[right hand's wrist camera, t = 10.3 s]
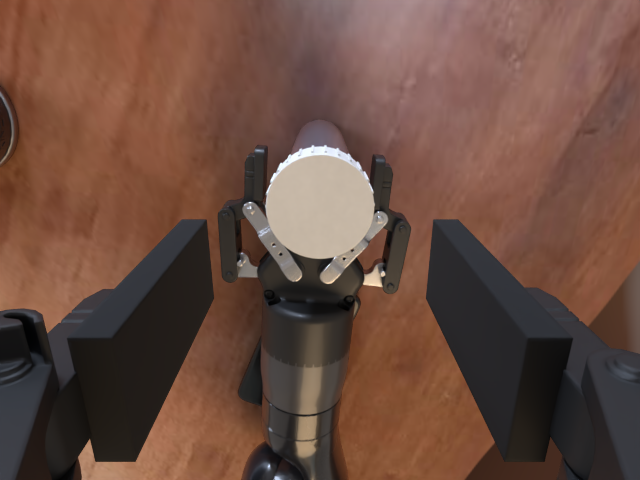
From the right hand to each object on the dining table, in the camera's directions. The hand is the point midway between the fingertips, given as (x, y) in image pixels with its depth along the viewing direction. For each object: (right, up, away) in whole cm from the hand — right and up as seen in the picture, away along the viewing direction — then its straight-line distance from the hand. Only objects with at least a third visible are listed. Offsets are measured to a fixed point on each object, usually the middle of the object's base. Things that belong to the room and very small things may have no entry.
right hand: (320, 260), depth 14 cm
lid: (0, +2, +6) cm, 6 cm away
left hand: (0, +7, +18) cm, 19 cm away
